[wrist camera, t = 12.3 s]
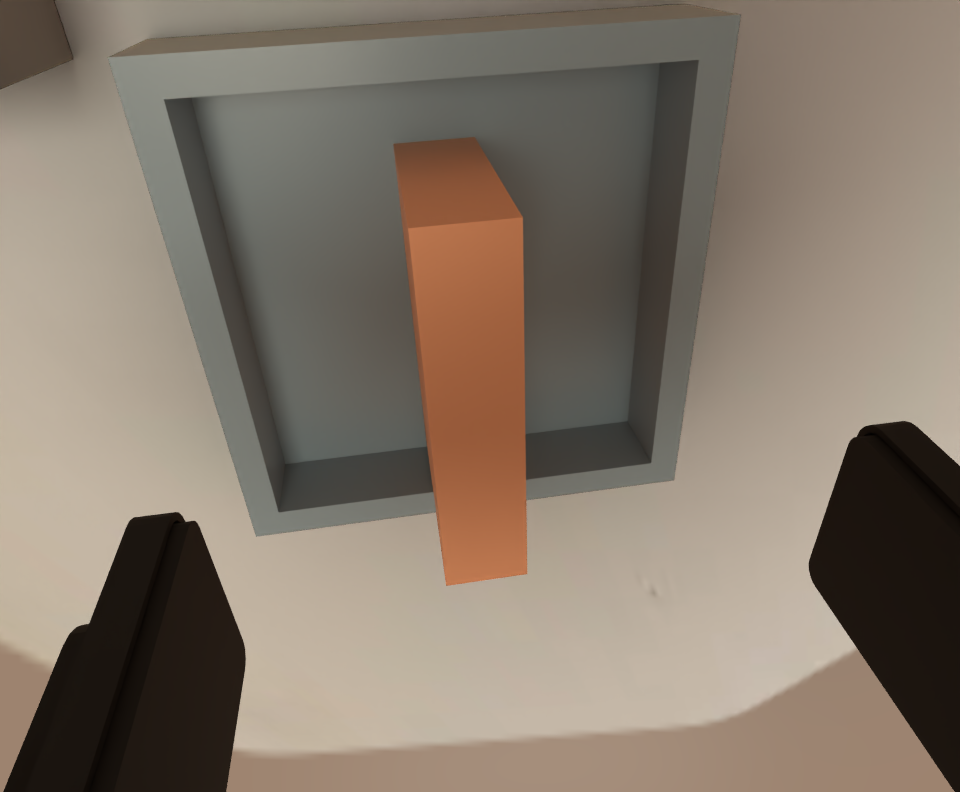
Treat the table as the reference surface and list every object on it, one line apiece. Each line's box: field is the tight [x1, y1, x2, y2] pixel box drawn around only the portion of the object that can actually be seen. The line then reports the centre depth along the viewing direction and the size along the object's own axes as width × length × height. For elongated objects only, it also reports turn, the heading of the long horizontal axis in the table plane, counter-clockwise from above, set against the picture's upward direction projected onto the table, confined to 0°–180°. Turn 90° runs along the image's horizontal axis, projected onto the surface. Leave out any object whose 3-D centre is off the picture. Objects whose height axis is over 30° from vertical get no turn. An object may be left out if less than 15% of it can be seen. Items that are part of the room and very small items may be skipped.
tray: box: [108, 4, 741, 537], centre depth 18 cm, size 13×13×3 cm
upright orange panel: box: [393, 137, 527, 586], centre depth 17 cm, size 2×6×9 cm
